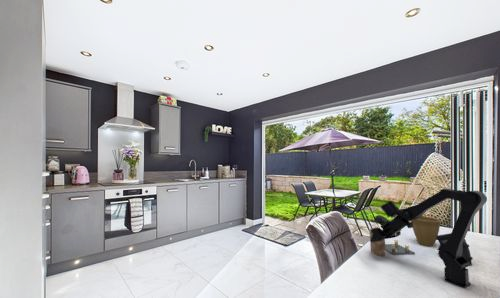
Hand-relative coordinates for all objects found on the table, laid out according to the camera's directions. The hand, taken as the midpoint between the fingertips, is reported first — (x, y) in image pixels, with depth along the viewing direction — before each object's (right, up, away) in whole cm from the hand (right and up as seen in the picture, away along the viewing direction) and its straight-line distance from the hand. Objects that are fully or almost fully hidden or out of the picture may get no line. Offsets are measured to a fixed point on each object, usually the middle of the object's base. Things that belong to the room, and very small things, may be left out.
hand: (375, 240), depth 120 cm
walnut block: (0, -7, -2) cm, 7 cm away
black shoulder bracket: (+36, -7, -8) cm, 38 cm away
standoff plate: (+14, -8, +4) cm, 16 cm away
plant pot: (+40, -9, +15) cm, 44 cm away
